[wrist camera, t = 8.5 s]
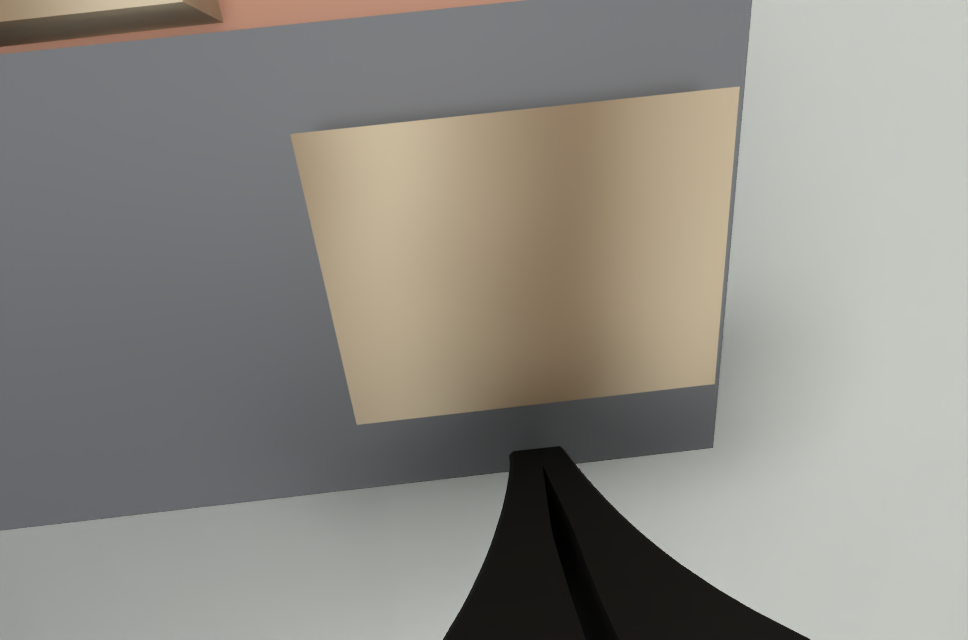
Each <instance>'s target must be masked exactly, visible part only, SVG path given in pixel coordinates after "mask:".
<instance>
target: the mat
mask: <svg viewBox="0 0 968 640" xmlns="http://www.w3.org/2000/svg"><path fill="white" fill-rule="evenodd" d="M514 1H523V0H218V3H219V7H220V11H221V15H222V19H223V23H215V24H206V25H197V26H188V27H179V28H170V29H160V30H151V31H142V32H133V33H124V34H115V35H106V36H97V37H88V38H78V39H69V40H60V41H51V42H42V43H33V44H24V45H15V46H6V47H0V54H8V53H17V52H27V51H37V50H46V49H56V48H66V47H76V46H85V45H95V44H105V43H115V42H124V41H134V40H144V39H153V38H163V37H173V36H183V35H192V34H202V33H212V32H222V31H231V30H241V29H251V28H261V27H270V26H280V25H290V24H299V23H309V22H319V21H329V20H338V19H348V18H358V17H368V16H377V15H387V14H397V13H406V12H416V11H426V10H436V9H445V8H455V7H465V6H475V5H484V4H494V3H504V2H514Z"/></svg>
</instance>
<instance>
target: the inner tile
mask: <svg viewBox="0 0 968 640" xmlns="http://www.w3.org/2000/svg"><path fill="white" fill-rule="evenodd" d="M215 23H223V19H222V15H221V11H220V7H219V3H218V0H0V47H6V46H15V45H24V44H33V43H42V42H51V41H60V40H69V39H78V38H88V37H97V36H106V35H115V34H124V33H133V32H142V31H151V30H160V29H170V28H179V27H188V26H197V25H206V24H215Z"/></svg>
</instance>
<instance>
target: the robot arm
mask: <svg viewBox="0 0 968 640" xmlns="http://www.w3.org/2000/svg"><path fill="white" fill-rule="evenodd" d="M509 461H510V469H509V478H508V485H507V490H506V495H505V499H504V503H503V508H502V511H501V515H500V518H499V521H498V525H497V528H496V531H495V534H494V537H493V540H492V543H491V545H490V548H489V551H488V553H487V556H486V558H485V561H484V563H483V565H482V568H481V570H480V572H479V574H478V576H477V578H476V581H475V583H474V585H473V587H472V589H471V591H470V593H469V595H468V597H467V599H466V601H465V603H464V604H463V606H462V608H461V610H460V612H459V613H458V615H457V617H456V618H455V620H454V622H453V623H452V625H451V627H450V628H449V630H448V632H447V634H446V635H445V637H444V639H443V640H810V639H809V638H807V637H805V636H803V635H801V634H799V633H797V632H795V631H793V630H791V629H789V628H787V627H785V626H783V625H781V624H779V623H777V622H775V621H773V620H772V619H770V618H768V617H766V616H764V615H762V614H760V613H758V612H756V611H754V610H752V609H751V608H749V607H747V606H745V605H744V604H742V603H740V602H739V601H737V600H735V599H734V598H732V597H730V596H728V595H727V594H725V593H723V592H722V591H720V590H718V589H717V588H715V587H714V586H712V585H711V584H709V583H708V582H706V581H705V580H703V579H702V578H700V577H699V576H697V575H696V574H694V573H693V572H691V571H690V570H688V569H687V568H686V567H684V566H683V565H681V564H680V563H678V562H677V561H676V560H674V559H673V558H672V557H670V556H669V555H668V554H666V553H665V552H664V551H663V550H661V549H660V548H659V547H658V546H656V545H655V544H654V543H653V542H651V541H650V540H649V539H648V538H647V537H645V536H644V535H643V534H642V533H641V532H640V531H639V530H637V529H636V528H635V527H634V526H633V525H632V524H631V523H630V522H629V521H628V520H627V519H626V518H624V517H623V516H622V515H621V514H620V513H619V512H618V511H617V510H616V509H615V508H614V507H613V506H612V505H611V504H610V503H609V502H608V501H607V500H606V499H605V498H604V496H603V495H602V494H601V493H600V492H599V491H598V490H597V489H596V488H595V487H594V486H593V485H592V483H591V482H590V481H589V480H588V479H587V478H586V477H585V475H584V474H583V473H582V472H581V471H580V469H579V468H578V467H577V466H576V464H575V463H574V462H573V461H572V459H571V458H570V457H569V455H568V454H567V453H566V451H565V450H564V449H563V448H562V447H561V446H555V447H546V448H537V449H528V450H519V451H513V452H512V453H511V454H510V455H509Z"/></svg>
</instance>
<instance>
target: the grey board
mask: <svg viewBox="0 0 968 640" xmlns="http://www.w3.org/2000/svg"><path fill="white" fill-rule="evenodd" d="M751 6H752V0H523V1H514V2H504V3H494V4H484V5H475V6H465V7H455V8H445V9H436V10H426V11H416V12H406V13H397V14H387V15H377V16H368V17H358V18H348V19H338V20H329V21H319V22H309V23H299V24H290V25H280V26H270V27H261V28H251V29H241V30H231V31H222V32H212V33H202V34H192V35H183V36H173V37H163V38H153V39H144V40H134V41H124V42H115V43H105V44H95V45H85V46H76V47H66V48H56V49H46V50H37V51H27V52H17V53H8V54H0V530H9V529H17V528H26V527H35V526H43V525H52V524H61V523H69V522H78V521H86V520H95V519H104V518H112V517H121V516H129V515H138V514H147V513H155V512H164V511H172V510H181V509H190V508H198V507H207V506H216V505H224V504H233V503H241V502H250V501H259V500H267V499H276V498H284V497H293V496H302V495H310V494H319V493H328V492H336V491H345V490H353V489H362V488H371V487H379V486H388V485H396V484H405V483H414V482H422V481H431V480H440V479H448V478H457V477H465V476H474V475H483V474H491V473H500V472H508V471H509V469H510V461H509V455H510V454H511V453H512V452H513V451H519V450H528V449H537V448H546V447H555V446H561V447H562V448H563V449H564V450H565V451H566V453H567V454H568V455H569V457H570V458H571V459H572V461H573V462H574V463H575V464H577V463H586V462H595V461H603V460H612V459H620V458H629V457H638V456H646V455H655V454H663V453H672V452H681V451H689V450H698V449H707V448H713V441H714V430H715V419H716V407H717V396H718V384H719V373H720V361H721V350H722V338H723V327H724V316H725V304H726V293H727V281H728V270H729V258H730V247H731V235H732V224H733V212H734V201H735V190H736V178H737V167H738V155H739V144H740V132H741V121H742V109H743V98H744V86H745V75H746V64H747V52H748V41H749V29H750V18H751ZM739 86H740V90H739V101H738V113H737V125H736V137H735V149H734V161H733V173H732V185H731V197H730V208H729V220H728V232H727V244H726V256H725V268H724V280H723V292H722V304H721V315H720V327H719V339H718V351H717V363H716V375H715V384H710V385H702V386H693V387H684V388H675V389H667V390H658V391H649V392H640V393H632V394H623V395H614V396H605V397H597V398H588V399H579V400H570V401H562V402H553V403H544V404H535V405H527V406H518V407H509V408H500V409H492V410H483V411H474V412H465V413H457V414H448V415H439V416H430V417H422V418H413V419H404V420H395V421H387V422H378V423H369V424H360V425H357V424H356V420H355V415H354V411H353V406H352V402H351V398H350V393H349V389H348V385H347V380H346V376H345V371H344V367H343V363H342V358H341V354H340V350H339V345H338V341H337V336H336V332H335V328H334V323H333V319H332V315H331V310H330V306H329V302H328V297H327V293H326V288H325V284H324V280H323V275H322V271H321V267H320V262H319V258H318V253H317V249H316V245H315V240H314V236H313V232H312V227H311V223H310V218H309V214H308V210H307V205H306V201H305V197H304V192H303V188H302V184H301V179H300V175H299V170H298V166H297V162H296V157H295V153H294V149H293V144H292V140H291V135H290V134H295V133H305V132H314V131H324V130H333V129H342V128H352V127H361V126H371V125H380V124H390V123H399V122H409V121H418V120H427V119H437V118H446V117H456V116H465V115H475V114H484V113H494V112H503V111H512V110H522V109H531V108H541V107H550V106H560V105H569V104H579V103H588V102H597V101H607V100H616V99H626V98H635V97H645V96H654V95H664V94H673V93H683V92H692V91H701V90H711V89H720V88H730V87H739Z"/></svg>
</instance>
